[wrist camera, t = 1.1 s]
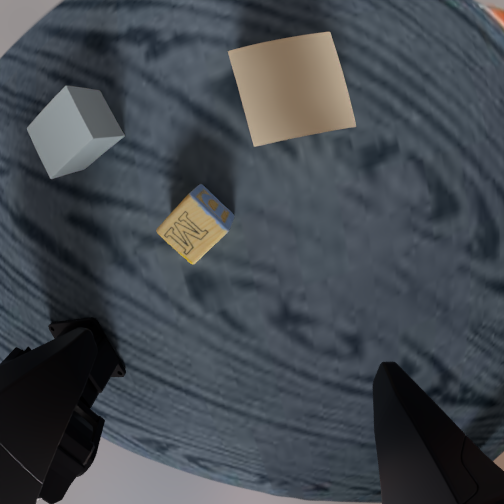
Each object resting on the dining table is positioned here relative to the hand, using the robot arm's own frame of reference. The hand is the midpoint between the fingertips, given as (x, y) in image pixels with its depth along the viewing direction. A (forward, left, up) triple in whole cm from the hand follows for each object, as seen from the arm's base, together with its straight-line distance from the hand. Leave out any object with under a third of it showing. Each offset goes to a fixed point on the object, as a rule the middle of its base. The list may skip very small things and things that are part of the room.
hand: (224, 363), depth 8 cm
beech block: (+4, +8, -12) cm, 15 cm away
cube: (-9, +10, -12) cm, 18 cm away
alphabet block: (-3, +2, -12) cm, 13 cm away
